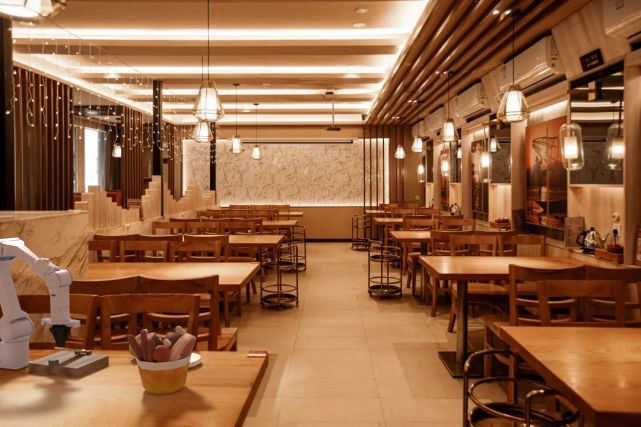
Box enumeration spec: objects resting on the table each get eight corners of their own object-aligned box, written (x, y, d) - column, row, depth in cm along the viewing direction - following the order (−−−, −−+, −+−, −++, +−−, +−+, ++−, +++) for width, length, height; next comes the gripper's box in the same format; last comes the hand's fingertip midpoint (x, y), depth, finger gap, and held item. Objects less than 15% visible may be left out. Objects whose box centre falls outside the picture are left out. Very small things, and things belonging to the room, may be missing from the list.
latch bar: (54, 349, 185) (54, 346, 185) (80, 352, 196) (80, 349, 196) (61, 349, 184) (62, 346, 184) (87, 353, 195) (87, 350, 195)
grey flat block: (28, 371, 185) (28, 358, 185) (62, 359, 199) (62, 346, 199) (76, 377, 179) (76, 363, 178) (108, 364, 193) (108, 350, 193)
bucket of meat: (164, 376, 180) (163, 314, 179) (206, 383, 173) (205, 319, 172) (117, 396, 162) (116, 328, 161) (161, 405, 154) (160, 334, 154)
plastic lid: (186, 357, 202) (186, 350, 202) (209, 365, 192) (208, 357, 192) (151, 365, 192) (151, 358, 192) (172, 374, 182) (172, 367, 182)
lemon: (140, 360, 196) (140, 338, 196) (126, 360, 198) (125, 337, 197) (148, 356, 202) (147, 334, 202) (134, 355, 203) (133, 333, 203)
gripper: (33, 307, 183) (34, 348, 184) (68, 310, 179) (69, 352, 179) (49, 303, 190) (50, 343, 190) (84, 306, 185) (85, 346, 186)
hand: (61, 347), depth 185 cm, fingers closed, pressing on latch bar
